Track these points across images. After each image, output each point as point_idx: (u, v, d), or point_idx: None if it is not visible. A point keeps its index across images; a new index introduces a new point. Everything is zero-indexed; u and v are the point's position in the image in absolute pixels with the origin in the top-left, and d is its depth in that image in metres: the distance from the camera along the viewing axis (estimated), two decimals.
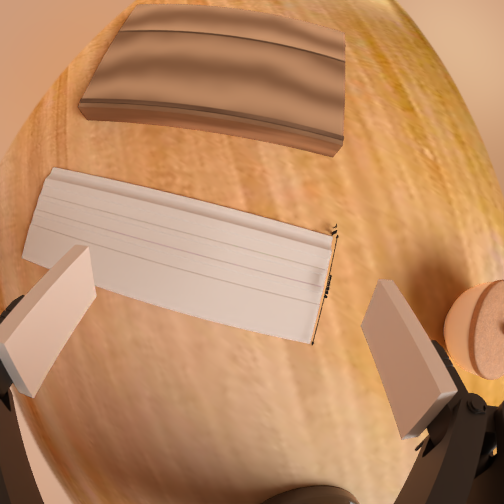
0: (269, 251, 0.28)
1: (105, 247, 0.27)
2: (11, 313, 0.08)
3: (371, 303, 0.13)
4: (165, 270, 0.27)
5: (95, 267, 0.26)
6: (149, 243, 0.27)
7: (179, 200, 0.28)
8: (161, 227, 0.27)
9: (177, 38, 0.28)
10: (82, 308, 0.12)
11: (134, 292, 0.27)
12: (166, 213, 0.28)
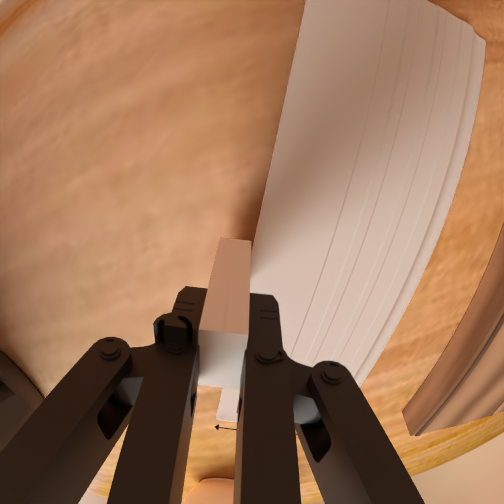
0: None
1: (354, 164, 0.13)
2: (207, 303, 0.10)
3: None
4: (309, 281, 0.16)
5: (314, 143, 0.13)
6: (357, 250, 0.15)
7: (413, 281, 0.17)
8: (380, 267, 0.16)
9: None
10: None
11: (269, 231, 0.15)
12: (400, 273, 0.16)
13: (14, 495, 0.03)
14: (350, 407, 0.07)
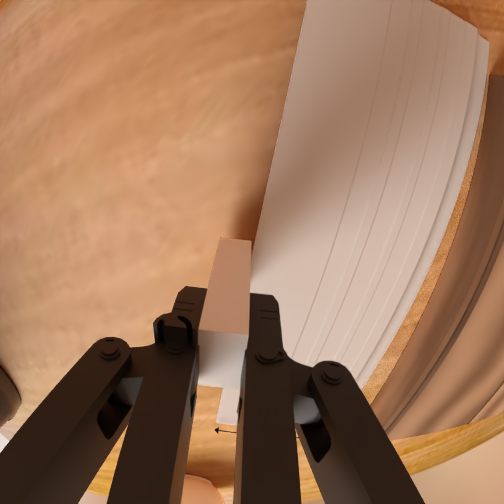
0: None
1: (356, 168, 0.13)
2: (206, 302, 0.10)
3: None
4: (309, 286, 0.16)
5: (315, 147, 0.13)
6: (358, 255, 0.15)
7: (414, 286, 0.17)
8: (381, 272, 0.15)
9: None
10: None
11: (269, 235, 0.15)
12: (401, 277, 0.16)
13: (14, 495, 0.03)
14: (350, 407, 0.07)
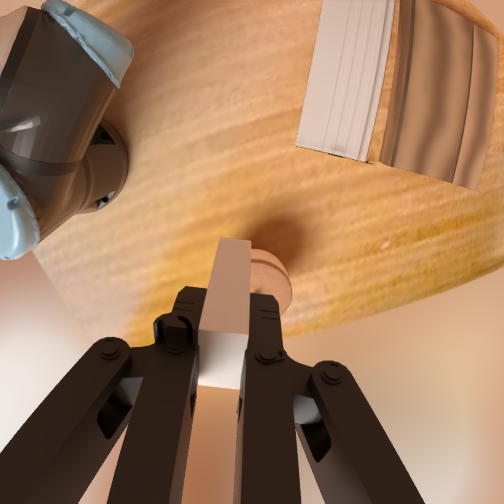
0: (355, 117, 0.37)
1: (348, 15, 0.30)
2: (206, 302, 0.10)
3: None
4: (338, 52, 0.33)
5: (334, 8, 0.30)
6: (354, 43, 0.32)
7: (382, 63, 0.34)
8: (365, 51, 0.33)
9: (465, 62, 0.30)
10: None
11: (322, 32, 0.32)
12: (374, 54, 0.33)
13: (14, 495, 0.03)
14: (350, 407, 0.07)
